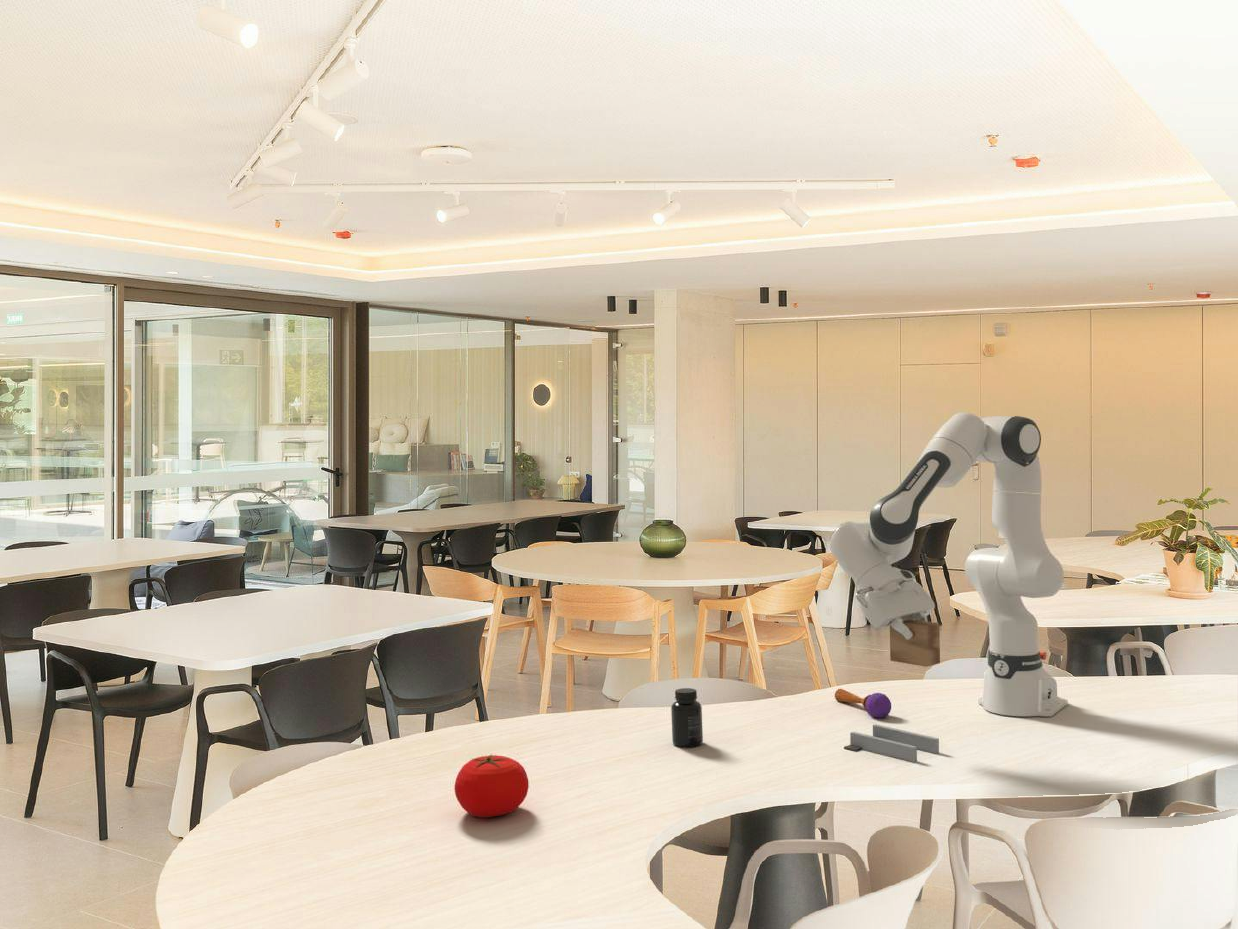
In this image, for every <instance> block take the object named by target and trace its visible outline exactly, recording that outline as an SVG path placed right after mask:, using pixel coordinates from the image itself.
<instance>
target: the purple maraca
mask: <svg viewBox="0 0 1238 929" xmlns="http://www.w3.org/2000/svg"><path fill="white" fill-rule="evenodd" d="M834 699H835V700H836V702H838V703H839V702H840V703H849V704H850V703H851V704H861V705H862V707H863V708H864V710H865V711H866V712H867V713H868V715H870V716H871V718H875V719H883V718H885V717H887V716H889V715H890V712H891V711H892V702H891V700H890V698H889V697H888V696H887V695H886V694H884V693H881V692H874V693H872V694H868V695H867V696H865V697H864V698H862V697H860V696H858V695H855V694H853V693H851V692H850V691H847V690H846V689H843V688H838V689H836V691H835V692H834Z"/></svg>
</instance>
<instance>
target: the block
mask: <svg viewBox="0 0 1238 929" xmlns="http://www.w3.org/2000/svg"><path fill="white" fill-rule="evenodd" d="M902 623H903V624H904V625H906V626H907V627H908V628H912V630H913V631H914V632H915V636H914V637H913V638H912V639H909V640H907V639H906V638H905V637H904V636H903V634H901V633H900V632H898V631H896V630H895V629H894V628H893V627H892V626H891V625H890V626H889V653H890V654H889V658H890V659H889V660H890V661H891V662H897V663H902V664H908V665H912V666H913V665H915V666H920V667H926V668H927V667H932V666H935V665H937V664H940V663H941V648H940V647H941V645H940V644H941V643H940V642H941V641H940V638H941V637H940V623H939V622H932V621H928V622H926V621H919V620H911V619H909V620H905V621H903V622H902Z"/></svg>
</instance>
